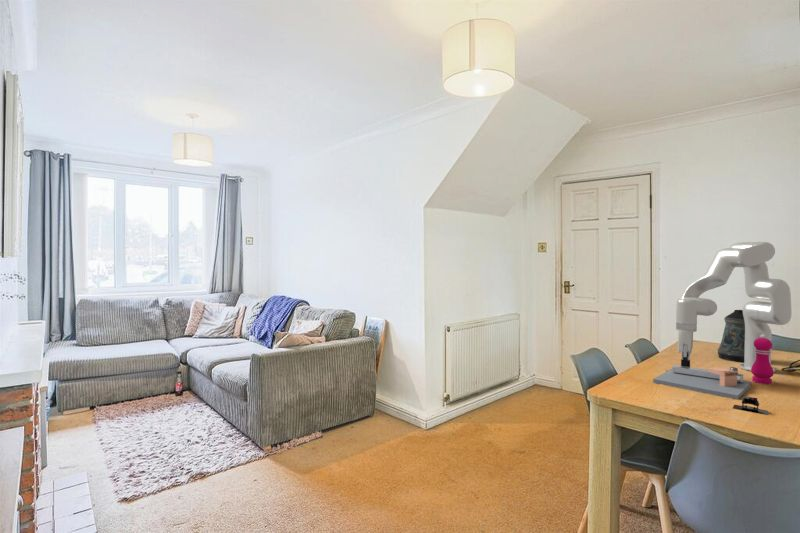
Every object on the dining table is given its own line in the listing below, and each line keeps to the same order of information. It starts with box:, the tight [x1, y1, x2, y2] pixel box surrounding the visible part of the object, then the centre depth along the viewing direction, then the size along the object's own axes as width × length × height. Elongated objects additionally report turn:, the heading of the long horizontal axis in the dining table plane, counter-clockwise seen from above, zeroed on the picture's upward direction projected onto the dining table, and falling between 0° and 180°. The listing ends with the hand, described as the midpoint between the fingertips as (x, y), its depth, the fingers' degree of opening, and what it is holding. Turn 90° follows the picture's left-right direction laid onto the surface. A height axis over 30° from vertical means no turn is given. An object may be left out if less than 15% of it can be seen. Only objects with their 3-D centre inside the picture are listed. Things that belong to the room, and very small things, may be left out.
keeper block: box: [707, 366, 737, 386], centre depth 172 cm, size 6×7×7 cm
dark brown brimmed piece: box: [732, 395, 769, 416], centre depth 147 cm, size 12×7×5 cm, turn 48°
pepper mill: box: [750, 334, 775, 385], centre depth 179 cm, size 7×7×20 cm
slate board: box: [652, 368, 753, 400], centre depth 176 cm, size 26×28×2 cm
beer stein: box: [717, 309, 745, 364], centre depth 219 cm, size 16×19×25 cm
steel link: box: [671, 364, 744, 383], centre depth 180 cm, size 24×6×5 cm, turn 50°
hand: (685, 368), depth 188 cm, fingers closed
